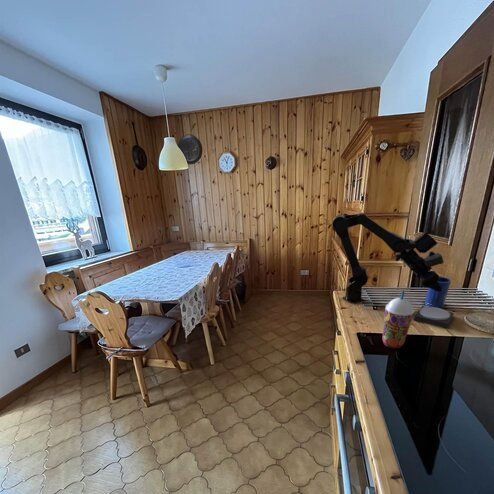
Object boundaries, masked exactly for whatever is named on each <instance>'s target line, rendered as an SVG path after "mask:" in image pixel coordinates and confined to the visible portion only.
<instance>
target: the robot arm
mask: <svg viewBox="0 0 494 494" xmlns="http://www.w3.org/2000/svg"><path fill="white" fill-rule="evenodd" d="M331 223H332V224H331V225H332V229H333V230H334V232H335V234H336V235H337V236H338V238H339V239H340V242H341V244H342V247H343V249H344V252H345V255H346V257H347V260H348V263H349V266H350V268H351V275H352V276H350V277H349V278H347V285H346V288H345V296H343V297H342V299H343V300H345V301H346V302H349V303H351V304H354V303H358V302H362V301H363V300H364V299H363V298H362V296H363V292H362V289H363V287H364V286H366V285H367V283H368V279H369V273H368V271H367V270H366V265H365V264H363V265H361V264H360V261H359V258H358V256H357V252H356V250H355V247H354V244H353V242H352V239H351V237H350V233H349V232H350V231H349V228H351V227H354V226H359V225H361V226H362V227H364V228H365V229H366V230H368V231H369V232H371V233H372V234H374V235H375V236H377V237H378V238H379V239H381V240H382V241H383V242H384V243H385V244H386V245H387V246H388V247H389V248H390V250H392V252H393V253H395V254H394V260H395V262H398V261H400V260H401V261H402V262H403V263H404V264H405V265H406V266H407V267H408V269H410V271H411V272H413V274H414V275H415V277H417V278H419V282H420V284H421V285H422V286H423V287H424V288H427V289H428V288H431V289H433V290H436V291H438V292H441V291H442V289H441V287H440V285H439V283H438V279H439V278H440V277H441V276H439V274H438V273H437V272H436V271H435V270H432V269H433V268H432V267H435V266H438V265H442V264H444V263H445V262H444V259H443V255H442V254H441V253H440V252H436V253H435V252H434V250H431V249H433V248H434V247H436V246H437V245H438V244H439V243H438V242H437V240H436V239H435V238H434V237H432V236H431V235H430V234H429V233H428V232H427V231H423V232H422V233H421V234H420V235H419V236H418V237H416V238H415V239H414V240H413V239H409V238H404V237H403V236H402V235H399V234H398V233H395V232H392V231H390V230H388V229H386V228H385V227H383V226H382V225H381V224H379V223H378V222H376V221H375V220H373V219H372V218H370V217H369V216H368V215H367V214H366V213H364V212H359V213H353V214H347V215H343V214H337V215H335V216H334V218H333V219H332V222H331ZM430 250H431V251H430ZM428 251H429V252H428ZM427 252H428V253H427ZM426 253H427V256H426V257H423V256H420V254H426Z"/></svg>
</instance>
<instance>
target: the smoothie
mask: <svg viewBox="0 0 494 494" xmlns="http://www.w3.org/2000/svg"><path fill="white" fill-rule="evenodd" d="M405 292H406V291H405V290H404V289H403V290H401V296H400V297H395V298H392V300H390V301H388V303H387V304H386V305H385V309H384V310H385V311H384V320H383V328H382V338H381V339H382V342H383V345H384V346H385V347H388V348H390V349H400V348H402V347H403V345H404V344H405V343H406V339H407V336H408V333H409V329H410V326H411V323H412V319H413V317H414V315H415V308H414V306H413V303H412V302H411V301H410V300H409V299H407V298H405Z"/></svg>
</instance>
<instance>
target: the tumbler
mask: <svg viewBox="0 0 494 494" xmlns="http://www.w3.org/2000/svg"><path fill="white" fill-rule="evenodd" d="M439 277H440V278H439V279H438V283H439V285H440V287H441V289H442V291H441V292H438V291H436V290H433V289H431V288H428V287H427V292H426V295H425V300H424V305H425V306H426V307H436V308H440V309H443V308H444V307H445V304H446V300H447V297H448V293H449V290H450V285H451V282H452V280H451V278H448V277H445V276H439ZM427 303H429V304H427ZM430 304H432V305H430Z"/></svg>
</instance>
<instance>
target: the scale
mask: <svg viewBox="0 0 494 494" xmlns="http://www.w3.org/2000/svg"><path fill="white" fill-rule="evenodd" d="M454 314H455V313H454V312H452V311H447V310H446V309H443V308H436V307H429V306H426V305H422V306H421V307H420V308H419V310H418V311H417V312H416V313H415V314H414V316H413V317H414V318H413V321H416V322H419V323H424V324H427V325H431V326H436V327H440V328H443V329H448V326H449V325H450V322H451V321H452V319H453V318H454Z"/></svg>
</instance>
